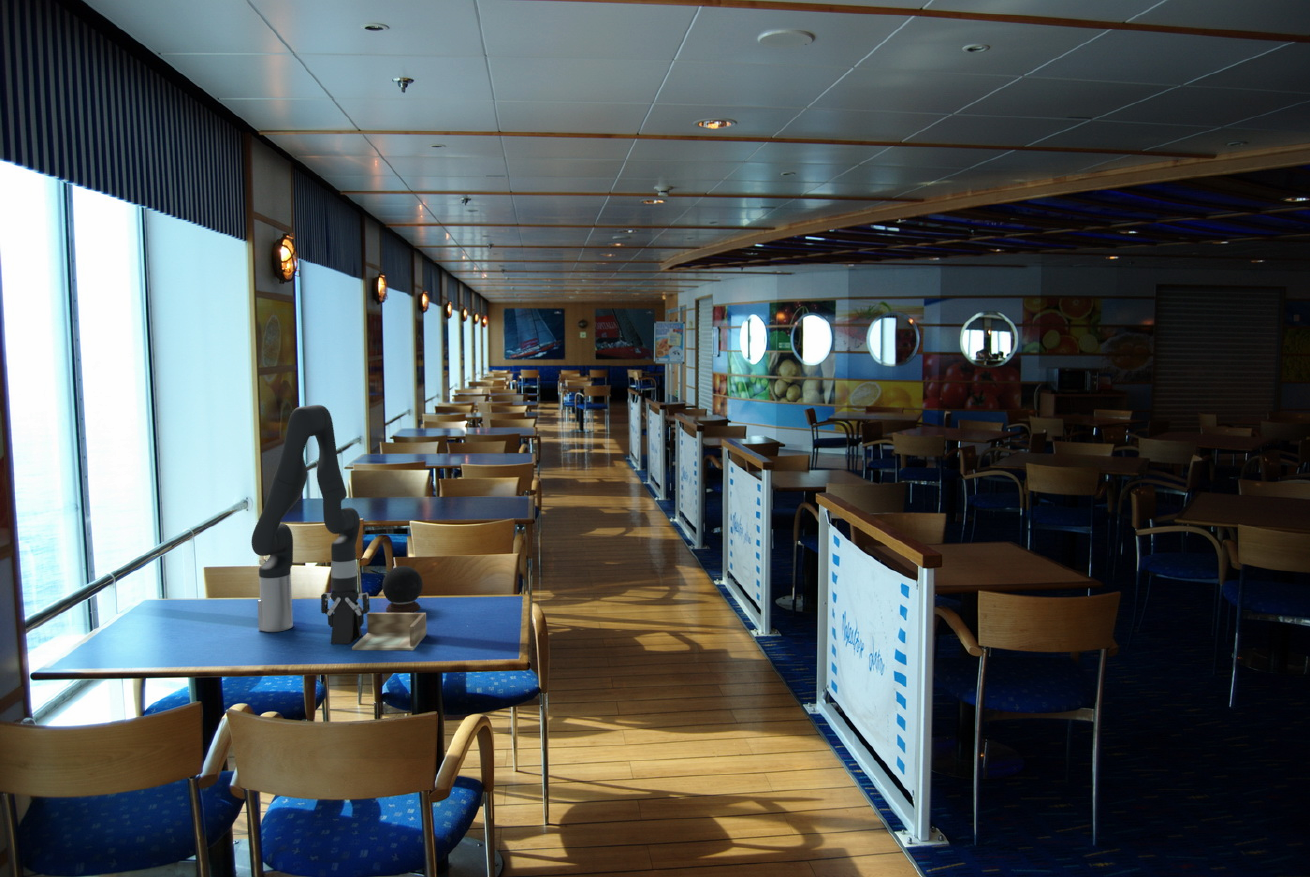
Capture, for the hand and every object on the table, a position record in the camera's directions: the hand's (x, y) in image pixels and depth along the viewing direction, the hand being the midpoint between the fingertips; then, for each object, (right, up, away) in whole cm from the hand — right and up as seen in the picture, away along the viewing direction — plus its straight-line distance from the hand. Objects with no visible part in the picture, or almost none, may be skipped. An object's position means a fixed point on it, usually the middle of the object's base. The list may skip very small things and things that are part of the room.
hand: (346, 626), depth 275 cm
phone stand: (0, -4, 0) cm, 4 cm away
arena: (+14, -4, -2) cm, 15 cm away
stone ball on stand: (+8, -1, +32) cm, 33 cm away
